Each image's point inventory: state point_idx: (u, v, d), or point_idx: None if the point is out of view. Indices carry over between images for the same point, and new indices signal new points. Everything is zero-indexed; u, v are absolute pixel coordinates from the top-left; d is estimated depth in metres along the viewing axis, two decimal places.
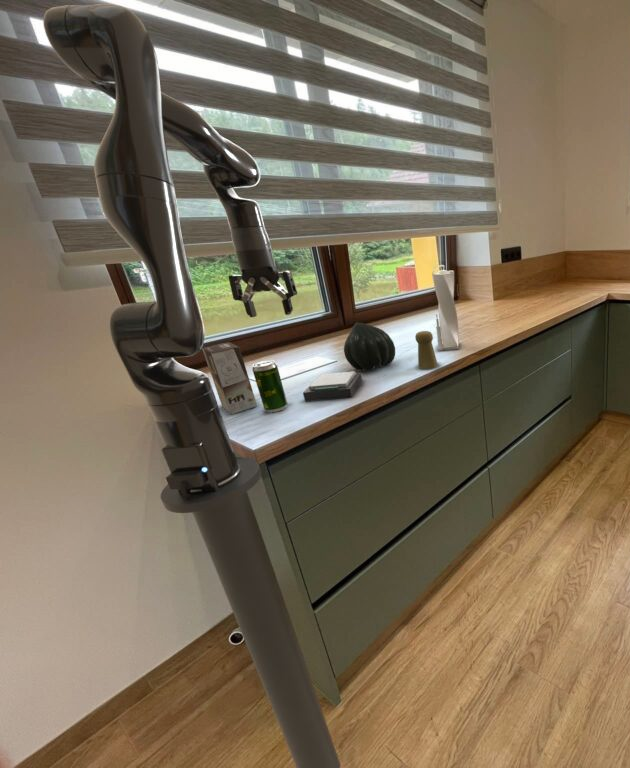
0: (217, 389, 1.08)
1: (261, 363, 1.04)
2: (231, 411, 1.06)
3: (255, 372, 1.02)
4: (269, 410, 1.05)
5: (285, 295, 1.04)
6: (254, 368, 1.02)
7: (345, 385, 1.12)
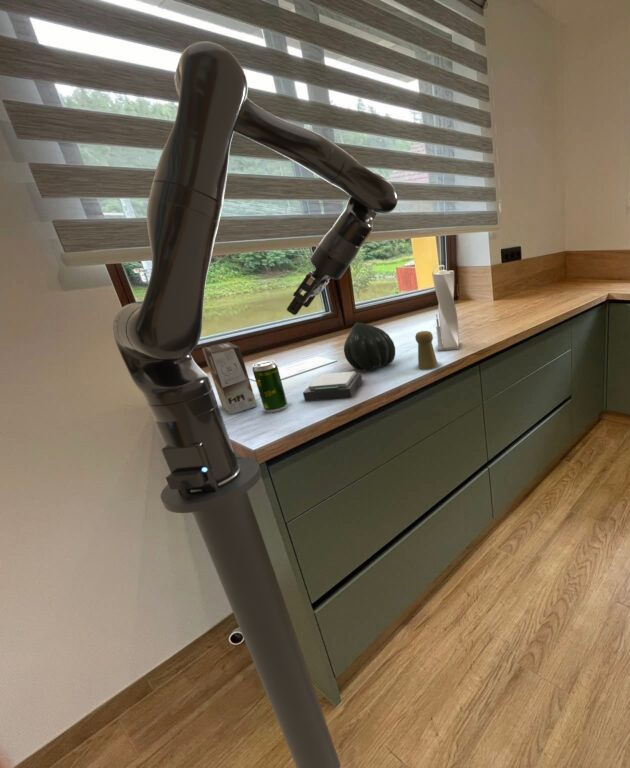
0: (217, 389, 1.08)
1: (261, 363, 1.04)
2: (231, 411, 1.06)
3: (255, 372, 1.02)
4: (269, 410, 1.05)
5: None
6: (254, 368, 1.02)
7: (345, 385, 1.12)
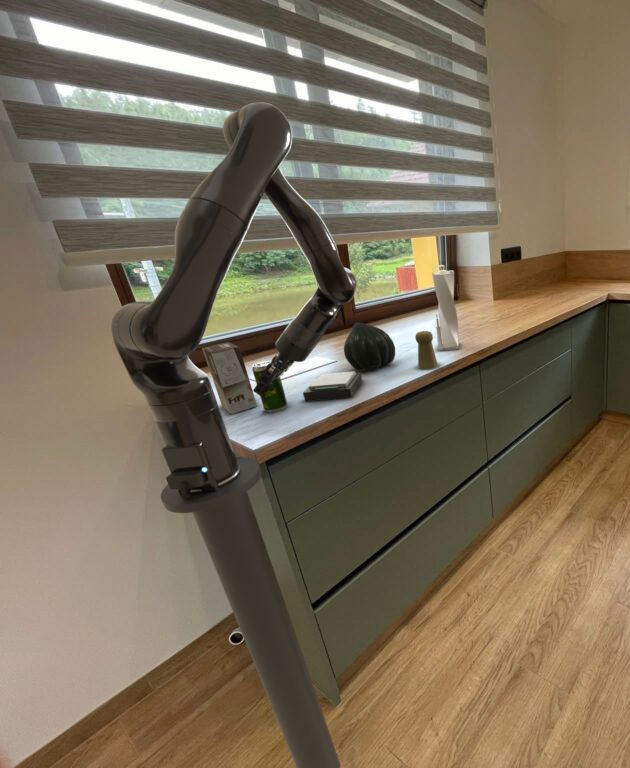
0: (217, 389, 1.08)
1: (261, 363, 1.04)
2: (231, 411, 1.06)
3: (255, 372, 1.02)
4: (269, 410, 1.05)
5: None
6: (254, 368, 1.02)
7: (345, 385, 1.12)
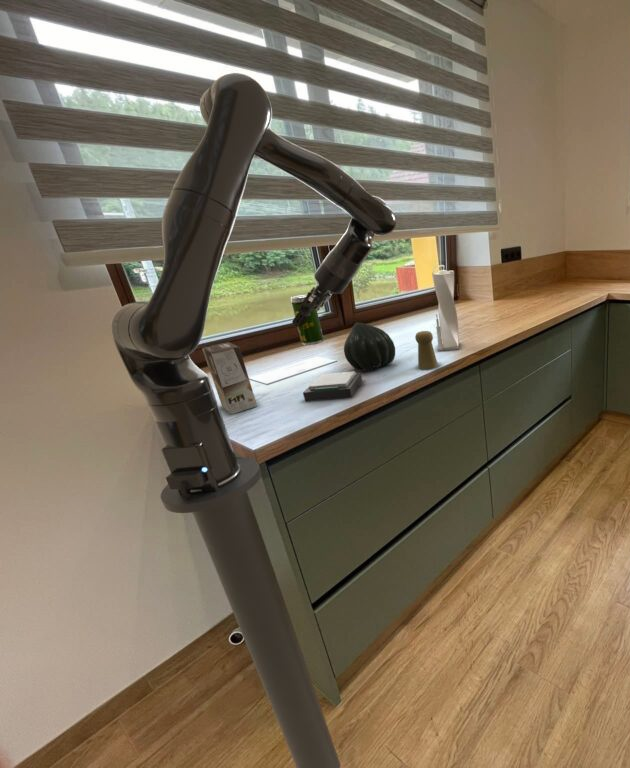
0: (217, 389, 1.08)
1: (299, 296, 1.06)
2: (231, 411, 1.06)
3: (294, 304, 1.04)
4: (307, 343, 1.08)
5: None
6: (293, 300, 1.04)
7: (345, 385, 1.12)
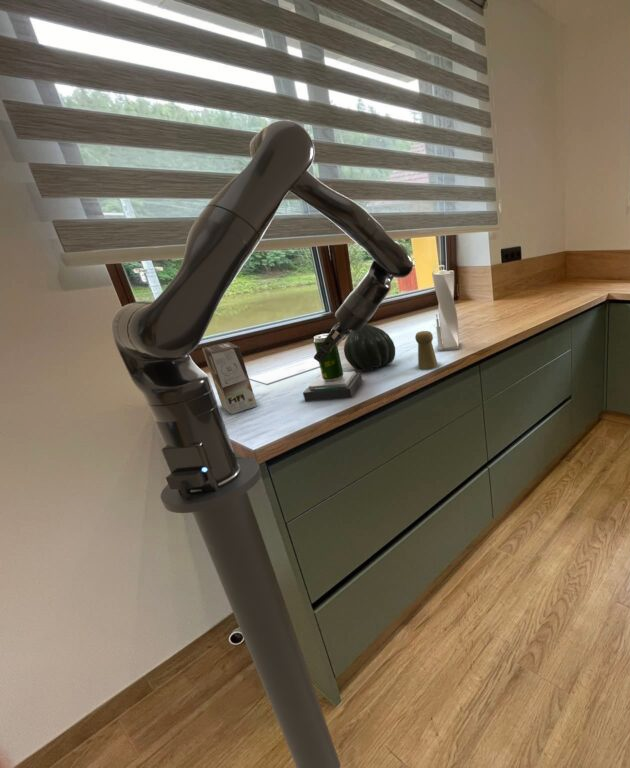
0: (217, 389, 1.08)
1: (321, 335, 1.12)
2: (231, 411, 1.06)
3: (317, 343, 1.10)
4: (328, 379, 1.14)
5: None
6: (316, 339, 1.10)
7: (345, 385, 1.12)
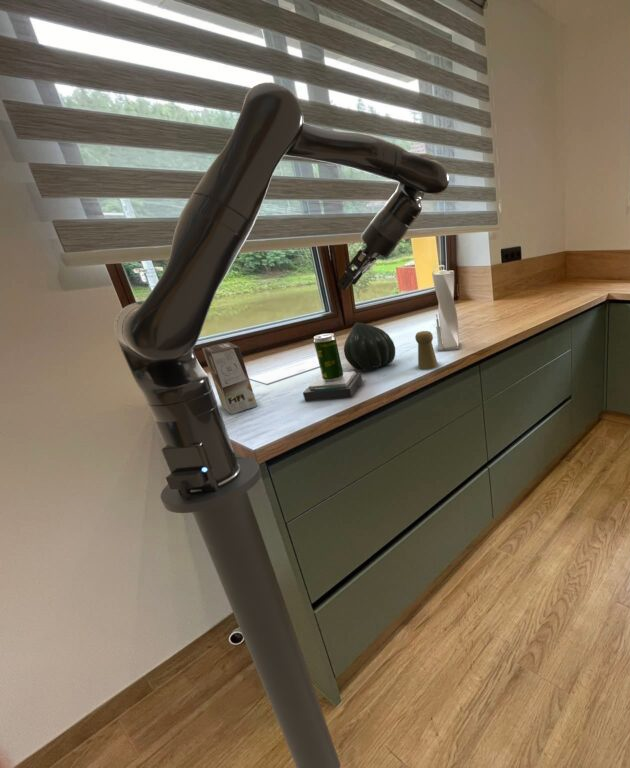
0: (217, 389, 1.08)
1: (321, 335, 1.12)
2: (231, 411, 1.06)
3: (317, 343, 1.10)
4: (328, 379, 1.14)
5: None
6: (316, 339, 1.10)
7: (345, 385, 1.12)
